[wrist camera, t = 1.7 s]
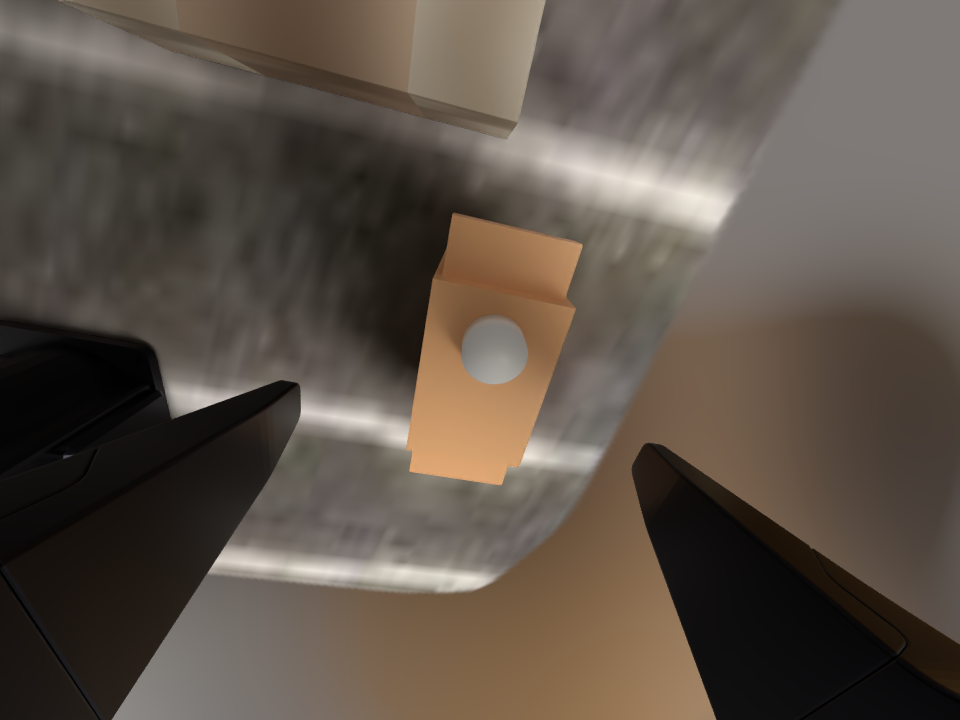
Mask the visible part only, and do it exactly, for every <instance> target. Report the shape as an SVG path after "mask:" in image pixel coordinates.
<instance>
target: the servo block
mask: <svg viewBox="0 0 960 720" xmlns="http://www.w3.org/2000/svg"><path fill="white" fill-rule="evenodd" d="M582 247H583V245H582V244H580V243H579V242H577V241H573V240H569V239H565V238H560V237H556V236H552V235H548V234H543V233H539V232H535V231H531V230H526V229H522V228H518V227H514V226H509V225H505V224H501V223H496V222H492V221H488V220H484V219H479V218H475V217H471V216H467V215H462V214H458V213H453V214H452V220H451V226H450V232H449V238H448V244H447V248H446V251H445V253H444V255H443V257H442V259H441V262H440V264H439V266H438V268H437V270H436V273H435V275H434V277H433V281H432V287H431V293H430V300H429V306H428V313H427V319H426V326H425V332H424V338H423V345H422V351H421V358H420V364H419V370H418V377H417V383H416V390H415V396H414V403H413V409H412V415H411V422H410V428H409V435H408V441H407V448H406V450H411V451H413V453H412V459H411V464H410V470H409V472H416V473H422V474H429V475H436V476H443V477H449V478H456V479H463V480H469V481H476V482H483V483H489V484H496V485H502V482H503V479H504V476H505V473H506V470H507V467H508V466H513V467H519V466H520V463H521V460H522V457H523V455H524V452H525V449H526V446H527V444H528V441H529V438H530V435H531V432H532V430H533V427H534V424H535V421H536V419H537V416H538V413H539V410H540V408H541V405H542V402H543V399H544V396H545V394H546V391H547V388H548V385H549V383H550V380H551V377H552V374H553V371H554V369H555V366H556V363H557V360H558V358H559V355H560V352H561V349H562V346H563V344H564V341H565V338H566V335H567V333H568V330H569V327H570V324H571V321H572V319H573V316H574V313H575V310H576V308H575V307H574V306H573V305H572V303H571V302H570V301H569V300H568V298H567V297H566V294H567V291H568V288H569V285H570V282H571V279H572V276H573V273H574V270H575V268H576V265H577V262H578V259H579V256H580V253H581V250H582Z"/></svg>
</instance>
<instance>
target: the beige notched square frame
mask: <svg viewBox="0 0 960 720" xmlns="http://www.w3.org/2000/svg"><path fill="white" fill-rule="evenodd" d="M57 1H60V2H62V3H64V4H66V5H69V6H71V7H73V8H75V9H78V10H80V11H82V12H84V13H87V14H89V15H91V16H93V17H96V18H98V19H100V20H102V21H105V22H107V23H109V24H111V25H114V26H116V27H118V28H121V29H123V30H125V31H127V32H130V33H132V34H134V35H136V36H139V37H141V38H143V39H145V40H148V41H150V42H152V43H154V44H157V45H159V46H161V47H163V48H166V49H168V50H170V51H174V52H178V53H182V54H186V55H189V56H193V57H197V58H201V59H205V60H208V61H212V62H216V63H220V64H224V65H227V66H231V67H235V68H239V69H243V70H246V71H250V72H254V73H258V74H262V75H265V76H269V77H273V78H277V79H280V80H284V81H288V82H292V83H296V84H299V85H303V86H307V87H311V88H315V89H318V90H322V91H326V92H330V93H334V94H337V95H341V96H345V97H349V98H353V99H356V100H360V101H364V102H368V103H372V104H375V105H379V106H383V107H387V108H390V109H394V110H398V111H402V112H406V113H409V114H413V115H417V116H421V117H425V118H428V119H432V120H436V121H440V122H444V123H447V124H451V125H455V126H459V127H463V128H466V129H470V130H474V131H478V132H482V133H485V134H489V135H493V136H497V137H501V138H504V139H507V138H508V137H509V135H510V134H511V132H512V131H513V129H514V128H515V126H516V125H517V123H518V121H519V116H520V112H521V107H522V103H523V98H524V94H525V89H526V85H527V80H528V76H529V72H530V67H531V63H532V58H533V54H534V49H535V45H536V40H537V36H538V31H539V27H540V22H541V18H542V13H543V9H544V4H545V0H57Z"/></svg>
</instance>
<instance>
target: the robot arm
mask: <svg viewBox="0 0 960 720" xmlns="http://www.w3.org/2000/svg"><path fill="white" fill-rule="evenodd" d="M140 356H141V357H140ZM300 413H301V395H300V386H299V384H298V383H295V382H290V381H284V380H280V381H277V382H274V383H271V384H268V385H266V386H263V387H260V388H257V389H255V390H252V391H249V392H246V393H244V394H241V395H238V396H235V397H233V398H230V399H227V400H224V401H222V402H219V403H216V404H213V405H211V406H208V407H205V408H202V409H199V410H197V411H194V412H191V413H188V414H186V415H183V416H180V417H177V418H175V419H172V420H171V417H170V413H169V409H168V404H167V400H166V396H165V391H164V387H163V383H162V379H161V374H160V370H159V366H158V361H157V357H156V355H155V353H154V351H153V350H152V349H150V348H149V347H147V346H145V345H142V344H136V343H131V342H125V341H119V340H114V339H108V338H102V337H97V336H91V335H85V334H79V333H74V332H68V331H62V330H57V329H51V328H45V327H39V326H34V325H28V324H22V323H17V322H11V321H5V320H0V720H112V718H113V717H114V715H115V714H116V712H117V711H118V709H119V708H120V706H121V704H122V703H123V701H124V700H125V698H126V697H127V695H128V694H129V692H130V691H131V689H132V688H133V686H134V685H135V683H136V682H137V680H138V678H139V677H140V675H141V674H142V672H143V671H144V669H145V667H146V666H147V665H148V663H149V662H150V660H151V658H152V657H153V655H154V654H155V652H156V651H157V649H158V648H159V646H160V644H161V643H162V642H163V640H164V638H165V637H166V636H167V634H168V632H169V631H170V629H171V628H172V626H173V625H174V623H175V622H176V620H177V619H178V617H179V615H180V614H181V612H182V611H183V609H184V608H185V606H186V605H187V603H188V602H189V600H190V599H191V597H192V595H193V594H194V593H195V591H196V590H197V588H198V587H199V585H200V583H201V582H202V580H203V579H204V577H205V576H206V574H207V573H208V571H209V570H210V568H211V567H212V565H213V564H214V562H215V560H216V559H217V557H218V556H219V554H220V553H221V551H222V550H223V548H224V547H225V545H226V544H227V542H228V541H229V539H230V538H231V536H232V534H233V533H234V531H235V530H236V528H237V527H238V525H239V524H240V522H241V521H242V519H243V518H244V516H245V515H246V513H247V511H248V510H249V508H250V507H251V505H252V504H253V502H254V501H255V499H256V498H257V496H258V495H259V493H260V492H261V490H262V488H263V487H264V485H265V484H266V482H267V481H268V479H269V477H270V476H271V474H272V472H273V470H274V468H275V467H276V465H277V463H278V461H279V459H280V457H281V455H282V453H283V451H284V449H285V447H286V445H287V443H288V441H289V439H290V437H291V435H292V433H293V431H294V429H295V427H296V425H297V423H298V420H299V418H300ZM632 476H633V480H634V484H635V487H636V491H637V495H638V499H639V503H640V507H641V511H642V514H643V518H644V522H645V525H646V528H647V531H648V534H649V537H650V540H651V543H652V545H653V548H654V551H655V554H656V556H657V559H658V562H659V564H660V567H661V570H662V573H663V575H664V578H665V581H666V583H667V586H668V589H669V592H670V595H671V597H672V600H673V603H674V605H675V608H676V611H677V613H678V616H679V619H680V622H681V625H682V627H683V630H684V632H685V635H686V638H687V641H688V644H689V646H690V649H691V652H692V654H693V657H694V660H695V663H696V665H697V668H698V671H699V673H700V676H701V679H702V682H703V685H704V687H705V690H706V692H707V695H708V698H709V701H710V704H711V706H712V709H713V712H714V715H715V717H716V720H960V644H959V643H957V642H955V641H954V640H952V639H951V638H949V637H947V636H946V635H944V634H943V633H941V632H940V631H938V630H936V629H935V628H934V627H932V626H930V625H929V624H927V623H926V622H924V621H922V620H921V619H919V618H918V617H916V616H915V615H913V614H912V613H910V612H908V611H907V610H905V609H904V608H902V607H900V606H899V605H898V604H896V603H894V602H893V601H891V600H890V599H888V598H887V597H885V596H884V595H882V594H881V593H879V592H878V591H876V590H875V589H873V588H871V587H870V586H868V585H867V584H865V583H864V582H862V581H861V580H859V579H858V578H856V577H855V576H853V575H852V574H850V573H849V572H847V571H846V570H844V569H843V568H841V567H840V566H838V565H837V564H836V563H834V562H833V561H831V560H830V559H828V558H826V557H825V556H824V555H822V554H821V553H819V552H818V551H816V550H815V549H811V548H810V546H809V545H808V544H806V543H805V542H803V541H802V540H800V539H799V538H797V537H796V536H794V535H793V534H792V533H790V532H789V531H787V530H785V529H784V528H783V527H781V526H780V525H778V524H777V523H776V522H774V521H773V520H771V519H770V518H768V517H767V516H765V515H764V514H762V513H761V512H759V511H758V510H757V509H755V508H754V507H752V506H751V505H749V504H748V503H746V502H745V501H743V500H742V499H740V498H739V497H738V496H736V495H735V494H733V493H732V492H730V491H729V490H727V489H726V488H724V487H723V486H721V485H720V484H718V483H717V482H715V481H714V480H713V479H711V478H710V477H708V476H707V475H705V474H704V473H702V472H701V471H700V470H698V469H697V468H695V467H694V466H692V465H691V464H689V463H688V462H686V461H685V460H684V459H682V458H681V457H679V456H678V455H676V454H675V453H673V452H672V451H670V450H669V449H667V448H666V447H665V446H663V445H660V444H654V443H646V444H644V445H643V447H642V449H641V451H640V452H639V454H638V456H637V458H636V459H635V461H634V463H633V465H632Z"/></svg>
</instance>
